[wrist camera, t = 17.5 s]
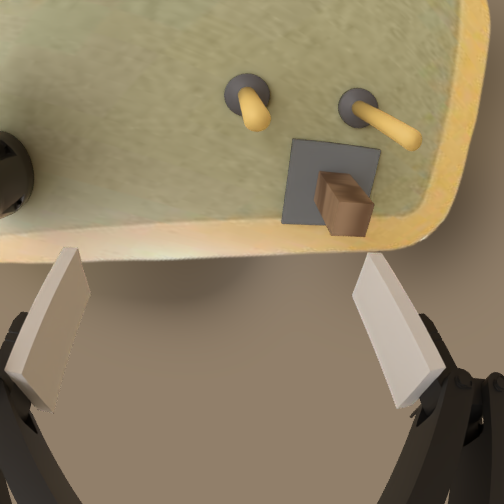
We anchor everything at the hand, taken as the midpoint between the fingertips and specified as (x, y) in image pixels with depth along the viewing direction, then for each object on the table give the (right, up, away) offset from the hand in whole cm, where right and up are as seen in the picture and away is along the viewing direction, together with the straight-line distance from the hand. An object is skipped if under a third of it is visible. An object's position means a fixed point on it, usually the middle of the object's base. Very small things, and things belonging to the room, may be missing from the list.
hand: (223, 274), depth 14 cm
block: (+13, +11, +34) cm, 38 cm away
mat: (+13, +11, +34) cm, 39 cm away
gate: (+8, +22, +26) cm, 35 cm away
